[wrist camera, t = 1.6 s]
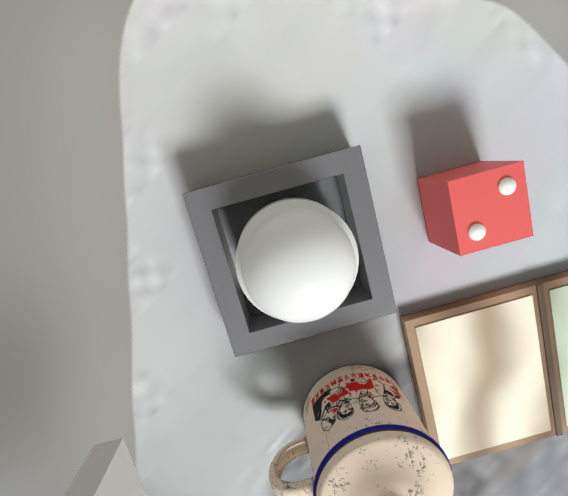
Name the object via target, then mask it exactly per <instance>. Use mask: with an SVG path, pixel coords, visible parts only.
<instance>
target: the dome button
mask: <svg viewBox="0 0 568 496" xmlns="http://www.w3.org/2000/svg"><path fill="white" fill-rule="evenodd" d="M358 264H359V254H358V248H357V244H356V241H355V238H354V236H353V234H352V232H351V230H350V229H349V227H348V225H347V224H346V223H345V222H344V221H343V220H342V219H341V218H340V217H339V216H338V215H337V214H336V213H334V212H333V211H331V210H330V209H328V208H327V207H325V206H324V205H322V204H320V203H318V202H316V201H313V200H310V199H307V198H301V197H288V198H282V199H278V200H275V201H272V202H270V203H268V204H266V205H264V206H263V207H262V208H260V209H259V210H258V211H256V212H255V213H254V214H253V215H252V216H251V218H250V219H249V220H248V222H247V223H246V225H245V226H244V228H243V231H242V233H241V236H240V239H239V243H238V246H237V251H236V258H235V266H236V274H237V278H238V281H239V284H240V287H241V289H242V290H243V292H244V294H245V295H246V297H247V298H248V299H249V301H250V302H251V303H252V304H253V305H254V306H255V307H257V308H258V309H259V310H260V311H262V312H264V313H265V314H267V315H269V316H272V317H274V318H277V319H280V320H283V321H287V322H293V323H303V322H310V321H315V320H318V319H320V318H323V317H325V316H327V315H328V314H330V313H331V312H333V311H334V310H335V309H336V308H338V307H339V306H340V305H341V303H342V302H343V301H344V300H345V298H346V297H347V295H348V294H349V292H350V290H351V288H352V286H353V284H354V282H355V279H356V276H357V272H358Z"/></svg>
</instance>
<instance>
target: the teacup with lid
mask: <svg viewBox="0 0 568 496" xmlns="http://www.w3.org/2000/svg"><path fill="white" fill-rule="evenodd" d="M304 425H305V431H306V437H303V438H300V439H297V440H294V441H292V442H290V443H288V444H287V445H285V446H284V447H283V448H281V449H280V450H279V452H278V453H277V454H276V456H275V457H274V459H273V461H272V463H271V466H270V470H269V480H270V484H271V487H272V489H273V491H274V493H275V494H276V495H277V496H453V489H454V481H453V475H452V469H451V465H450V462H449V459H448V457H447V456H446V454H445V452H444V451H443V449H442V448H441V447H440V445H439V444H438V443H437V442H436V441H435V440H434V439H432V438H431V437H430V435H429V434H428V432H427V430H426V429H425V427H424V426H423V424H422V422H421V421H420V419H419V418H418V416H417V414H416V413H415V411H414V410H413V408H412V407H411V405H410V403H409V402H408V400H407V399H406V397H405V395H404V394H403V392H402V391H401V389H400V387H399V386H398V384H397V383H396V382H395V381H394V380H393V379H392V378H391V377H390V376H389V375H388V374H386V373H385V372H383V371H381V370H379V369H376V368H374V367H370V366H364V365H351V366H345V367H341V368H338V369H336V370H333V371H331V372H330V373H328V374H326V375H325V376H324V377H322V378H321V379H320V380H319V381H318V382H317V383H316V384H315V385H314V387H313V388H312V389H311V391H310V393H309V394H308V397H307V399H306V402H305V406H304ZM306 453H309V454H310V460H311V466H312V471H313V477H312V478H308V479H305V480H301V481H297V482H286V481H283V480H281V475H282V472H283V470H284V468H285V467H286V466H287V464H288V463H289V462H290V461H291V460H293V459H294V458H296V457H298V456H300V455H303V454H306Z"/></svg>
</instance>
